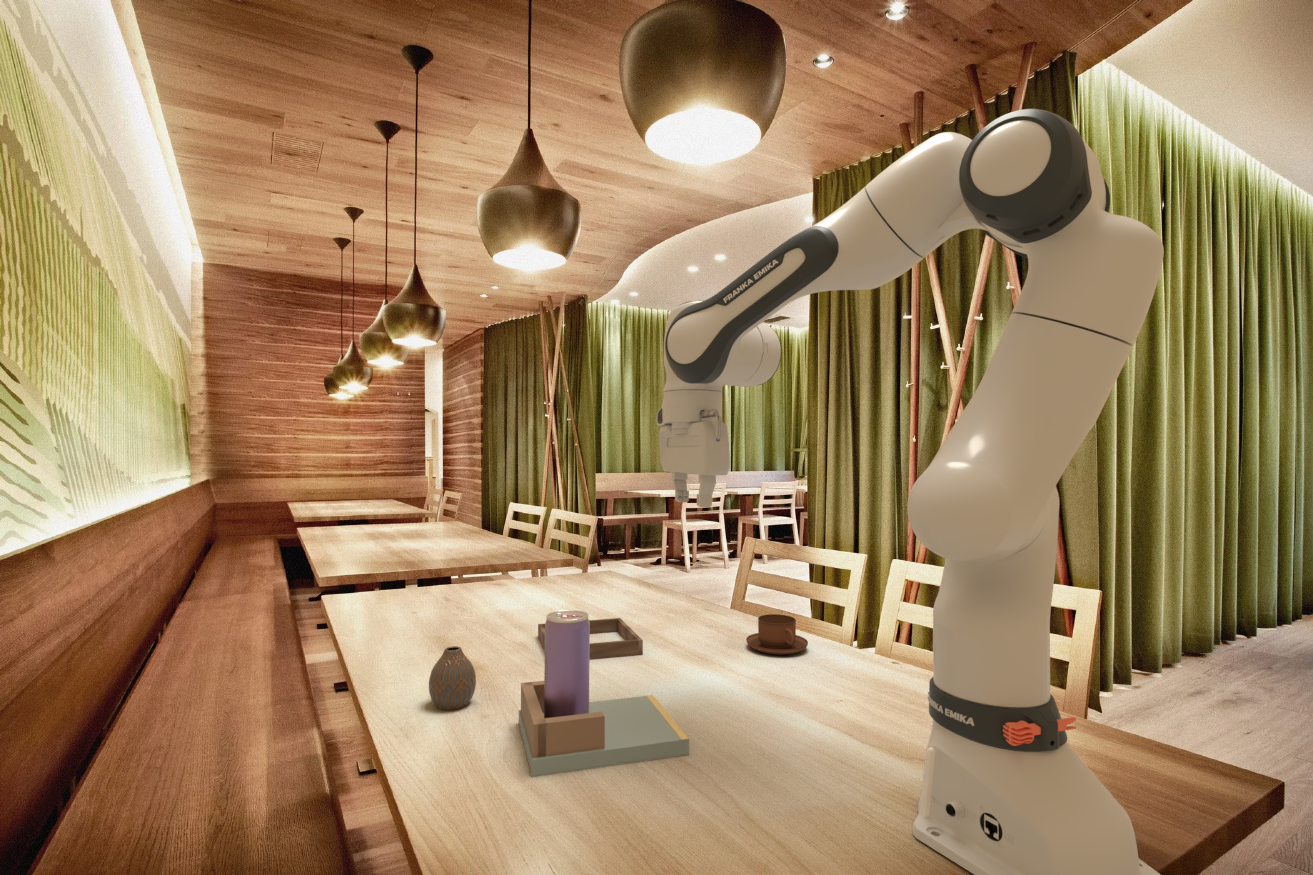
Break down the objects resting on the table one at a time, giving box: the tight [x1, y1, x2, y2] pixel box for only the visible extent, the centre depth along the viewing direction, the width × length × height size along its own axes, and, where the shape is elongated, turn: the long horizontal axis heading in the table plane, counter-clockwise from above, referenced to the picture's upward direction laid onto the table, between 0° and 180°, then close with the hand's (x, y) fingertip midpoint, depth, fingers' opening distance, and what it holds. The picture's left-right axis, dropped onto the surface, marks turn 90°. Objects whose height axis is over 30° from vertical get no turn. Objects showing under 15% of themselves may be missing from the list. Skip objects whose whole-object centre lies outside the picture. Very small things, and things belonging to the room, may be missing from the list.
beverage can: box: [543, 609, 591, 718], centre depth 88 cm, size 6×6×15 cm
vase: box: [428, 645, 477, 711], centre depth 101 cm, size 7×7×9 cm
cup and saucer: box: [745, 613, 809, 655], centre depth 130 cm, size 12×12×6 cm
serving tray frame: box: [537, 617, 644, 661], centre depth 131 cm, size 18×18×3 cm
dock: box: [518, 680, 690, 778], centre depth 89 cm, size 16×20×6 cm
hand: (692, 504), depth 98 cm, fingers open, 8 cm apart
